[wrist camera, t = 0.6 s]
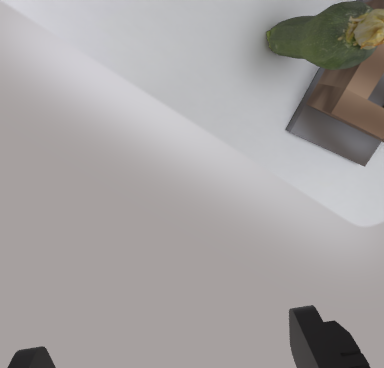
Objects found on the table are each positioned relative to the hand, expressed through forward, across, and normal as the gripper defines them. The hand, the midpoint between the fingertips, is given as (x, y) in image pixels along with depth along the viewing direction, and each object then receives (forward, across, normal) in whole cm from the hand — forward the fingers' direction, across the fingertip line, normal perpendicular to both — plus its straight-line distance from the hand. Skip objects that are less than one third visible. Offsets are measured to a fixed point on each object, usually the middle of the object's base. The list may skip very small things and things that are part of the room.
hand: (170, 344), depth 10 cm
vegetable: (+30, -13, -7) cm, 34 cm away
